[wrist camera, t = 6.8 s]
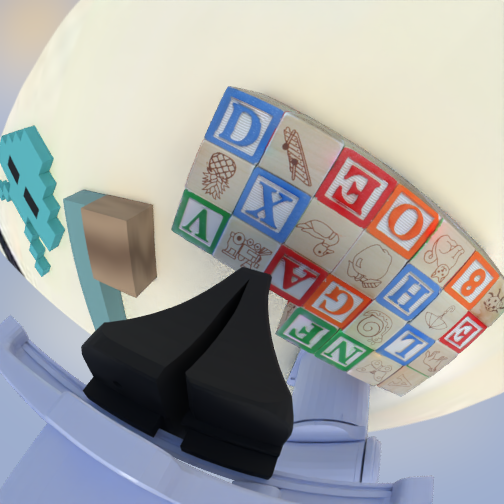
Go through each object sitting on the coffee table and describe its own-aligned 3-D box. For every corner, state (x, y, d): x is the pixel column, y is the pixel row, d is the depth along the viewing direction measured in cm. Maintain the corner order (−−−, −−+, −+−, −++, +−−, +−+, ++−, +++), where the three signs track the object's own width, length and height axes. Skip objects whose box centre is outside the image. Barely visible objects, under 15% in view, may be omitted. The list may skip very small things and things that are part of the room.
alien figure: (50, 270, 36) (82, 196, 26) (41, 277, 34) (68, 203, 24) (1, 186, 32) (23, 98, 22) (-8, 191, 30) (11, 100, 20)
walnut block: (158, 275, 27) (136, 297, 24) (116, 260, 29) (93, 278, 25) (154, 204, 23) (126, 220, 20) (108, 193, 24) (80, 208, 21)
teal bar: (131, 341, 35) (120, 354, 33) (111, 330, 36) (100, 343, 34) (106, 194, 24) (85, 205, 22) (83, 189, 25) (63, 199, 22)
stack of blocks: (262, 90, 16) (198, 228, 23) (227, 80, 11) (156, 266, 18) (486, 253, 16) (395, 345, 23) (519, 299, 11) (399, 398, 17)
